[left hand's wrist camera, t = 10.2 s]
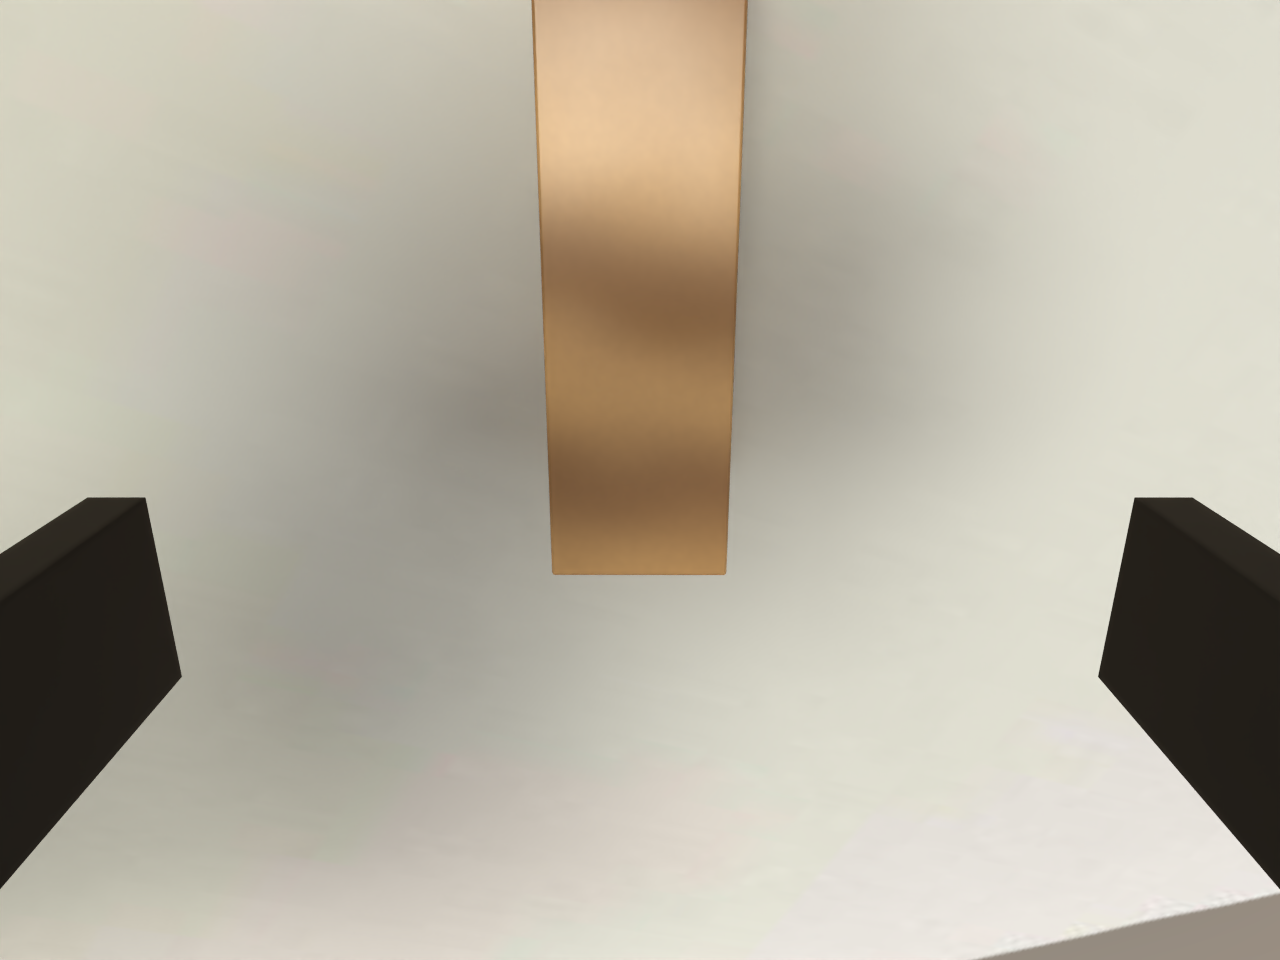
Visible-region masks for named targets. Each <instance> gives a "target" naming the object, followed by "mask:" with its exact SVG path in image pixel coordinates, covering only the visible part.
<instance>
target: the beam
mask: <svg viewBox="0 0 1280 960" xmlns="http://www.w3.org/2000/svg"><path fill="white" fill-rule="evenodd" d="M747 8H748V0H532V28H533V56H534V83H535V111H536V139H537V166H538V194H539V221H540V249H541V277H542V304H543V332H544V360H545V387H546V415H547V443H548V470H549V498H550V525H551V553H552V573H553V574H554V575H725V574H726V565H727V539H728V512H729V486H730V459H731V432H732V406H733V379H734V353H735V326H736V300H737V273H738V247H739V220H740V194H741V167H742V141H743V114H744V88H745V61H746V35H747Z"/></svg>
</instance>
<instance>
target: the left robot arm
mask: <svg viewBox="0 0 1280 960" xmlns="http://www.w3.org/2000/svg"><path fill="white" fill-rule="evenodd" d="M181 677H182V675H181V670H180V665H179V660H178V656H177V651H176V646H175V641H174V636H173V631H172V626H171V621H170V616H169V611H168V606H167V602H166V597H165V592H164V587H163V582H162V577H161V572H160V567H159V562H158V557H157V552H156V548H155V543H154V538H153V533H152V528H151V523H150V518H149V513H148V508H147V503H146V498H86V499H85V500H83V501H82V502H80V503H78V504H77V505H75V506H74V507H72V508H71V509H69V510H68V511H66V512H65V513H63V514H61V515H60V516H58V517H57V518H55V519H54V520H52V521H51V522H49V523H47V524H46V525H44V526H43V527H41V528H40V529H38V530H37V531H35V532H34V533H32V534H30V535H29V536H27V537H26V538H24V539H23V540H21V541H20V542H18V543H16V544H15V545H13V546H12V547H10V548H9V549H7V550H6V551H4V552H3V553H1V554H0V889H1V887H2V886H3V885H4V884H5V883H6V882H7V880H8V879H9V878H10V877H11V876H12V875H13V873H14V872H15V871H16V870H17V869H18V868H19V866H20V865H21V864H22V863H23V862H24V861H25V859H26V858H27V857H28V856H29V855H30V854H31V852H32V851H33V850H34V849H35V848H36V847H37V845H38V844H39V843H40V842H41V841H42V840H43V838H44V837H45V836H46V835H47V834H48V833H49V831H50V830H51V829H52V828H53V827H54V826H55V824H56V823H57V822H58V821H59V820H60V819H61V817H62V816H63V815H64V814H65V813H66V811H67V810H68V809H69V808H70V807H71V806H72V804H73V803H74V802H75V801H76V800H77V799H78V797H79V796H80V795H81V794H82V793H83V792H84V790H85V789H86V788H87V787H88V786H89V785H90V783H91V782H92V781H93V780H94V779H95V778H96V776H97V775H98V774H99V773H100V772H101V771H102V769H103V768H104V767H105V766H106V765H107V764H108V762H109V761H110V760H111V759H112V758H113V757H114V755H115V754H116V753H117V752H118V751H119V750H120V748H121V747H122V746H123V745H124V744H125V743H126V741H127V740H128V739H129V738H130V737H131V736H132V734H133V733H134V732H135V731H136V730H137V729H138V727H139V726H140V725H141V724H142V723H143V722H144V720H145V719H146V718H147V717H148V716H149V714H150V713H151V712H152V711H153V710H154V709H155V707H156V706H157V705H158V704H159V703H160V702H161V700H162V699H163V698H164V697H165V696H166V695H167V693H168V692H169V691H170V690H171V689H172V688H173V686H174V685H175V684H176V683H177V682H178V681H179V679H180V678H181ZM1098 677H1099V678H1100V679H1101V681H1102V682H1103V683H1104V684H1105V685H1106V686H1107V688H1108V689H1109V690H1110V691H1111V692H1112V693H1113V695H1114V696H1115V697H1116V698H1117V699H1118V700H1119V702H1120V703H1121V704H1122V705H1123V706H1124V707H1125V709H1126V710H1127V711H1128V712H1129V713H1130V714H1131V716H1132V717H1133V718H1134V719H1135V720H1136V722H1137V723H1138V724H1139V725H1140V726H1141V727H1142V729H1143V730H1144V731H1145V732H1146V733H1147V734H1148V736H1149V737H1150V738H1151V739H1152V740H1153V741H1154V743H1155V744H1156V745H1157V746H1158V747H1159V748H1160V750H1161V751H1162V752H1163V753H1164V754H1165V755H1166V757H1167V758H1168V759H1169V760H1170V761H1171V762H1172V764H1173V765H1174V766H1175V767H1176V768H1177V769H1178V771H1179V772H1180V773H1181V774H1182V775H1183V776H1184V778H1185V779H1186V780H1187V781H1188V782H1189V783H1190V785H1191V786H1192V787H1193V788H1194V789H1195V790H1196V792H1197V793H1198V794H1199V795H1200V796H1201V797H1202V799H1203V800H1204V801H1205V802H1206V803H1207V804H1208V806H1209V807H1210V808H1211V809H1212V810H1213V812H1214V813H1215V814H1216V815H1217V816H1218V817H1219V819H1220V820H1221V821H1222V822H1223V823H1224V824H1225V826H1226V827H1227V828H1228V829H1229V830H1230V831H1231V833H1232V834H1233V835H1234V836H1235V837H1236V838H1237V840H1238V841H1239V842H1240V843H1241V844H1242V845H1243V847H1244V848H1245V849H1246V850H1247V851H1248V852H1249V854H1250V855H1251V856H1252V857H1253V858H1254V859H1255V861H1256V862H1257V863H1258V864H1259V865H1260V866H1261V868H1262V869H1263V870H1264V871H1265V872H1266V873H1267V875H1268V876H1269V877H1270V878H1271V879H1272V880H1273V882H1274V883H1275V884H1276V885H1277V886H1278V887H1279V889H1280V554H1279V553H1277V552H1276V551H1274V550H1273V549H1271V548H1270V547H1268V546H1267V545H1265V544H1264V543H1262V542H1260V541H1259V540H1257V539H1256V538H1254V537H1253V536H1251V535H1250V534H1248V533H1246V532H1245V531H1243V530H1242V529H1240V528H1239V527H1237V526H1236V525H1234V524H1233V523H1231V522H1229V521H1228V520H1226V519H1225V518H1223V517H1222V516H1220V515H1219V514H1217V513H1215V512H1214V511H1212V510H1211V509H1209V508H1208V507H1206V506H1205V505H1203V504H1202V503H1200V502H1198V501H1197V500H1195V499H1194V498H1134V503H1133V508H1132V513H1131V518H1130V523H1129V528H1128V533H1127V538H1126V543H1125V548H1124V552H1123V557H1122V562H1121V567H1120V572H1119V577H1118V582H1117V587H1116V592H1115V597H1114V602H1113V606H1112V611H1111V616H1110V621H1109V626H1108V631H1107V636H1106V641H1105V646H1104V651H1103V656H1102V660H1101V665H1100V670H1099V675H1098Z"/></svg>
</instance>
